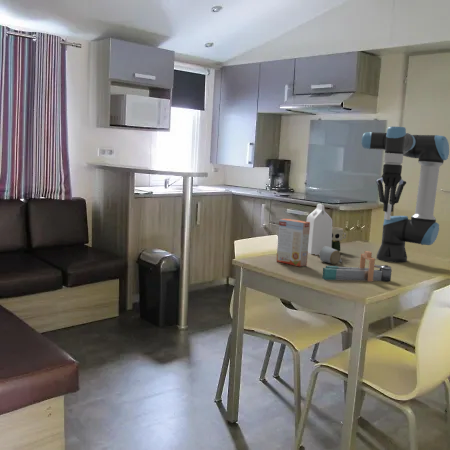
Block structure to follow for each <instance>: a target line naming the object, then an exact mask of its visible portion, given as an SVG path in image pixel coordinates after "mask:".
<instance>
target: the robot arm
mask: <svg viewBox="0 0 450 450" xmlns="http://www.w3.org/2000/svg"><path fill="white" fill-rule="evenodd" d="M361 145H362V148H363V149H365V150H376V151H377V150H379V151H384V156H383V157H384V159H383V163H384V164H383V167H382V175H381V177H379V178H378V179H376V180H375V183H376V186H377V192H378V199H379V202H380V203H382V204H383V208H382V211H383V212H384V216H383V224H382V235H381V243H380V246H379V248H378V251H377V254H376V259H377V260H379V261H383V262H388V263H397V264H398V263H403V264H404V263H406V262H407V261H408V254H407V250H406V243H411V244H415V245H416V244H417V245H421V246H424V245H425V246H431V245H433V244H434V243H435V242H436V240H437V238H438V235H439V231H440V224H439V223H438V222H436V221H437V219H436V217H435V216H434V212H435V205H436V195H437V188H438V181H439V173H440V167H441V166H442V165H444V161H447V160H448V159H449V156H450V143H449V140H448V138H447V137H446V136H445V135H437V134H434V135H433V134H411V133H410V132H407V128H406V127H404V126H388V127H387V130H386V132H377V131H373V132H372V131H368V132H367V131H366V132H364V133H363V134H362V136H361ZM404 157H406V158H411V159H417V160H418V163H419V165H420V172H419V180H418V187H417V195H416V202H415V204H416V205H415V209H414V210H415V211H414V214H413V215H411V217H410V219H409V217H408V216H407V215H391V214H392V212H393V211H394V205H396V204H398V203H399V201H400V199H401V197H402V196H401V195H402V194H403V193H402V192H403V189H404V187H405V185H406V184H407V181H405V180H403V179H402V169H403V166H402V164H403V163H404V162H403V160H404ZM383 183H384V184H383Z"/></svg>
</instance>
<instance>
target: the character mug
mask: <svg viewBox="0 0 450 450" xmlns="http://www.w3.org/2000/svg"><path fill="white" fill-rule="evenodd" d="M346 238H347V233H346V232H344V228H341V227H333V226H332V248H333V249H335V250H337V251H339V252H341V241H342V240H343V239H346Z"/></svg>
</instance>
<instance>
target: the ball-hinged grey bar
mask: <svg viewBox="0 0 450 450" xmlns="http://www.w3.org/2000/svg"><path fill="white" fill-rule="evenodd" d="M392 270H393V269H392V268H391V270H385V269H381V268H379V269H374V274H373V282H374V281H375V282H376V281H377V282H385V283H386V282H387V283H388V282H391V280H392V272H393V271H392ZM368 271H369V270H362V269H335V268H326V267H322V279H323V280H327V281H328V280H329V281H330V280H331V281H365V282H366V281H367V282H368Z"/></svg>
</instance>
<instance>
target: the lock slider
mask: <svg viewBox="0 0 450 450" xmlns="http://www.w3.org/2000/svg"><path fill="white" fill-rule="evenodd" d="M372 253H373V252H372V251H370V250H364V253H360V260H359V268H366V260H367V261H369V263H368V268H369V271H368V281H367V282H368V283H369V282H370V283H371V282H374V281H373V274H374V270H375V267H374V265H376V264H375V262H376V259H375V258H374V257H372V255H373V254H372Z"/></svg>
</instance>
